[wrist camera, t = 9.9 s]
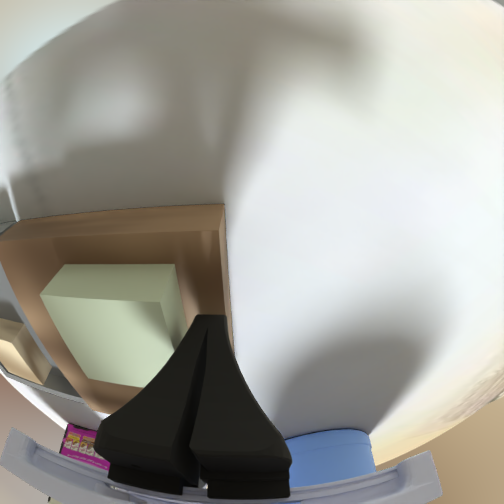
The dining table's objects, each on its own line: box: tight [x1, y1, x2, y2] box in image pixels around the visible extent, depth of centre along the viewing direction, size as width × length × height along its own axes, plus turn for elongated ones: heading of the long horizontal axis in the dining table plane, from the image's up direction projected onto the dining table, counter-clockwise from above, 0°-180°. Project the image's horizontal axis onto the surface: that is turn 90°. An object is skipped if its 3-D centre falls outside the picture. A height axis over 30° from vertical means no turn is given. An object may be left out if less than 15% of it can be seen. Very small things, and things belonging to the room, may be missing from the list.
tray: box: [0, 221, 88, 405], centre depth 16 cm, size 18×14×2 cm
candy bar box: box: [48, 424, 119, 504], centre depth 24 cm, size 11×5×16 cm, turn 92°
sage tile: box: [40, 264, 188, 388], centre depth 12 cm, size 6×6×2 cm
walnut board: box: [0, 204, 235, 414], centre depth 16 cm, size 18×14×3 cm
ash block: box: [0, 318, 52, 385], centre depth 17 cm, size 6×6×2 cm
